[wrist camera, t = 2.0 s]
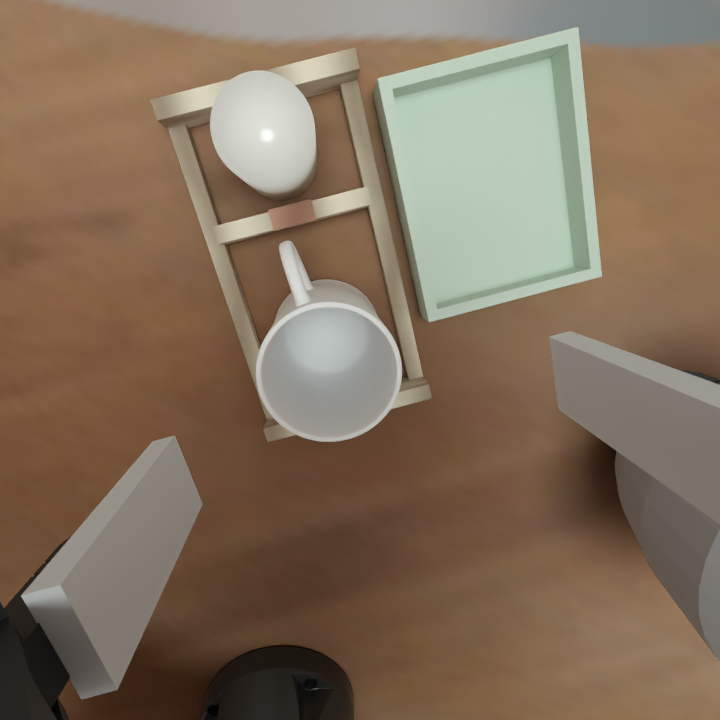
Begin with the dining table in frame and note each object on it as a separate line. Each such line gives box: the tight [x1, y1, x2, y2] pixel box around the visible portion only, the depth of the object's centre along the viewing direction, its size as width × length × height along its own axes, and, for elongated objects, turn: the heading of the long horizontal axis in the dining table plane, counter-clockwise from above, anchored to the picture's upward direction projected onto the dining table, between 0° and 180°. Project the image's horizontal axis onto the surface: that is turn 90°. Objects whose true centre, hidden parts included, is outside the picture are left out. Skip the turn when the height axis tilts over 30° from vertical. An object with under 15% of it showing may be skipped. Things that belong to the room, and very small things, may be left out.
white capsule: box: [210, 71, 317, 201], centre depth 27 cm, size 6×6×9 cm
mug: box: [256, 241, 402, 442], centre depth 29 cm, size 12×8×12 cm
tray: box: [372, 27, 602, 322], centre depth 32 cm, size 14×17×3 cm
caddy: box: [150, 48, 432, 442], centre depth 32 cm, size 13×25×3 cm, turn 14°
